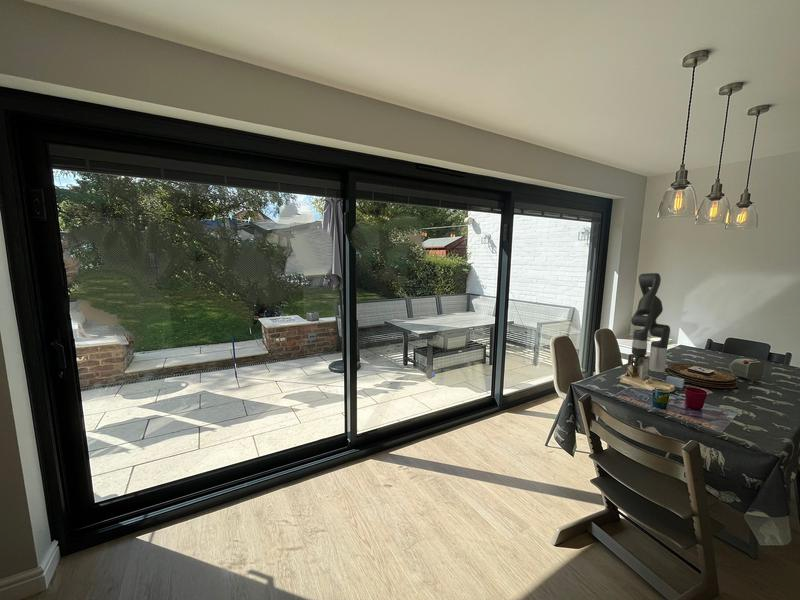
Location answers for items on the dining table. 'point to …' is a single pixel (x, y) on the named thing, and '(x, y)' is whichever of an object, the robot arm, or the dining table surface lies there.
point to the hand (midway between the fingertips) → (637, 372)
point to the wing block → (675, 381)
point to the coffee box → (641, 369)
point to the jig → (647, 383)
